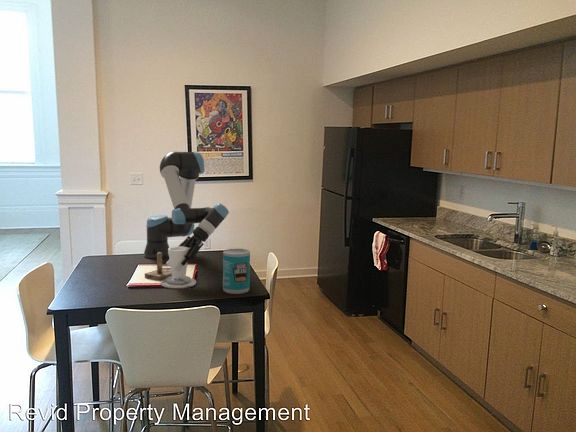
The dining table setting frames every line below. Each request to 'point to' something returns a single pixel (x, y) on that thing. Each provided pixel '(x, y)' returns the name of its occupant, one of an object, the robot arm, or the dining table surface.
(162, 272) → the stand
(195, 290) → the dining table surface
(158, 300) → the dining table surface
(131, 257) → the dining table surface
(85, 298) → the dining table surface
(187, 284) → the grey plate
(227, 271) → the food can
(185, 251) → the foam cup
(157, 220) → the robot arm
